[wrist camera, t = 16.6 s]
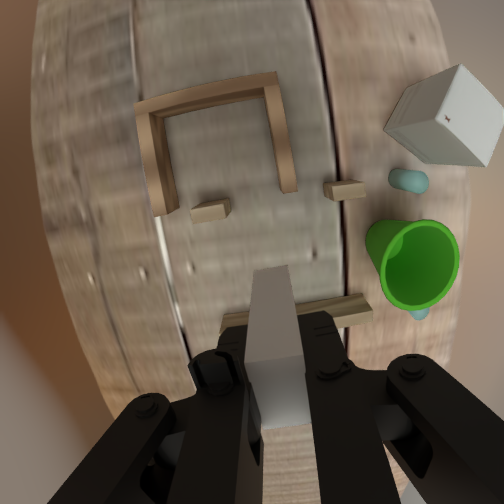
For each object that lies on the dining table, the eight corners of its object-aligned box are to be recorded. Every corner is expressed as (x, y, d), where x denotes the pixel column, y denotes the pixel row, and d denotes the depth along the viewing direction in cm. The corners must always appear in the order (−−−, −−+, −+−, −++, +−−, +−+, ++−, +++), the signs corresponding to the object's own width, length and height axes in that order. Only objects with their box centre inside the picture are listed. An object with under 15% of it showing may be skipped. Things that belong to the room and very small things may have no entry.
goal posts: (387, 169, 34) (408, 171, 28) (404, 168, 34) (427, 170, 28) (394, 301, 38) (411, 322, 33) (409, 298, 38) (428, 317, 33)
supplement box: (425, 165, 33) (486, 171, 21) (381, 130, 33) (433, 118, 20) (448, 121, 32) (510, 113, 19) (406, 85, 31) (460, 60, 19)
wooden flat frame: (149, 110, 33) (133, 103, 28) (333, 77, 31) (343, 65, 26) (197, 328, 41) (189, 348, 36) (361, 303, 39) (373, 321, 34)
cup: (410, 272, 37) (451, 308, 27) (347, 274, 38) (374, 314, 27) (417, 205, 35) (465, 221, 24) (351, 202, 35) (384, 218, 25)
